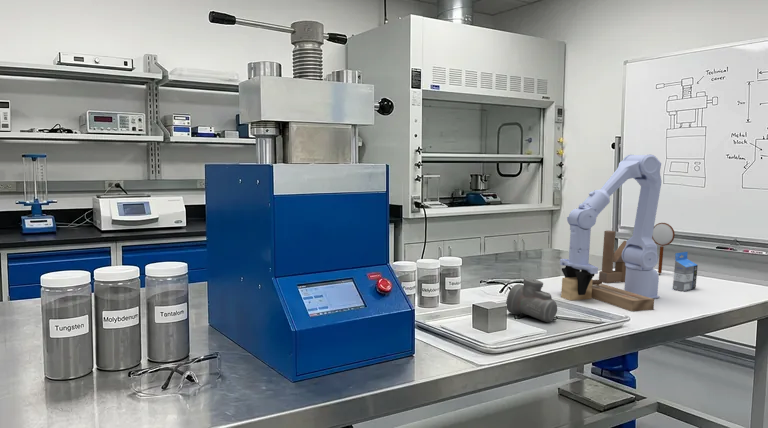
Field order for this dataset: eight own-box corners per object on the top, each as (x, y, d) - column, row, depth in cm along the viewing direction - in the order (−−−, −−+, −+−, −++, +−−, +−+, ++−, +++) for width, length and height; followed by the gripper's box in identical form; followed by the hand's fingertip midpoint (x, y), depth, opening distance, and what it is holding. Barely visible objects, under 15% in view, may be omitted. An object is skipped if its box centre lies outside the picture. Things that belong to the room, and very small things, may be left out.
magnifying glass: (672, 277, 209) (676, 223, 207) (669, 277, 208) (674, 224, 206) (649, 273, 216) (653, 221, 214) (647, 273, 215) (651, 221, 213)
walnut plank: (593, 290, 181) (594, 281, 181) (653, 309, 159) (654, 298, 159) (573, 291, 178) (574, 282, 178) (631, 311, 156) (632, 300, 156)
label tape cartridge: (683, 292, 184) (687, 254, 182) (671, 289, 187) (674, 253, 186) (696, 289, 189) (699, 253, 188) (684, 286, 192) (687, 251, 191)
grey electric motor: (501, 313, 148) (509, 275, 147) (518, 310, 154) (526, 274, 152) (540, 329, 139) (549, 289, 138) (557, 326, 145) (565, 288, 144)
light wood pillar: (594, 294, 175) (596, 275, 175) (604, 297, 171) (605, 278, 171) (561, 297, 170) (562, 277, 170) (569, 300, 167) (571, 280, 166)
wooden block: (629, 281, 198) (633, 231, 196) (606, 283, 193) (609, 231, 192) (621, 279, 201) (624, 229, 199) (598, 281, 197) (601, 230, 195)
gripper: (553, 245, 174) (550, 288, 175) (585, 252, 160) (582, 299, 162) (571, 244, 176) (568, 287, 178) (604, 252, 163) (601, 297, 164)
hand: (576, 292), depth 170 cm, fingers closed on light wood pillar, 4 cm apart
